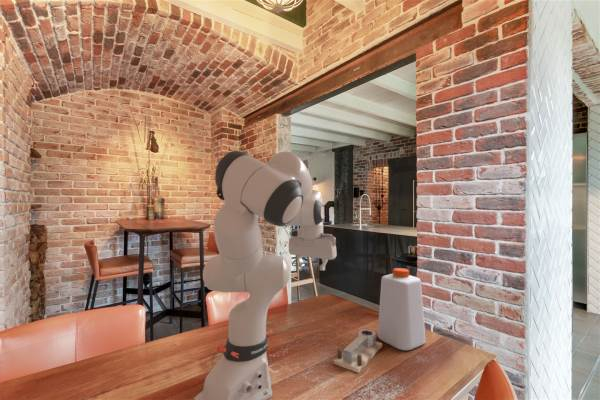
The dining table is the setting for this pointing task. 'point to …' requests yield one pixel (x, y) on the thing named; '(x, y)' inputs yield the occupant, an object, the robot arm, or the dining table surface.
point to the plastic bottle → (401, 310)
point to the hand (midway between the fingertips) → (311, 268)
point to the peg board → (361, 359)
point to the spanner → (359, 345)
